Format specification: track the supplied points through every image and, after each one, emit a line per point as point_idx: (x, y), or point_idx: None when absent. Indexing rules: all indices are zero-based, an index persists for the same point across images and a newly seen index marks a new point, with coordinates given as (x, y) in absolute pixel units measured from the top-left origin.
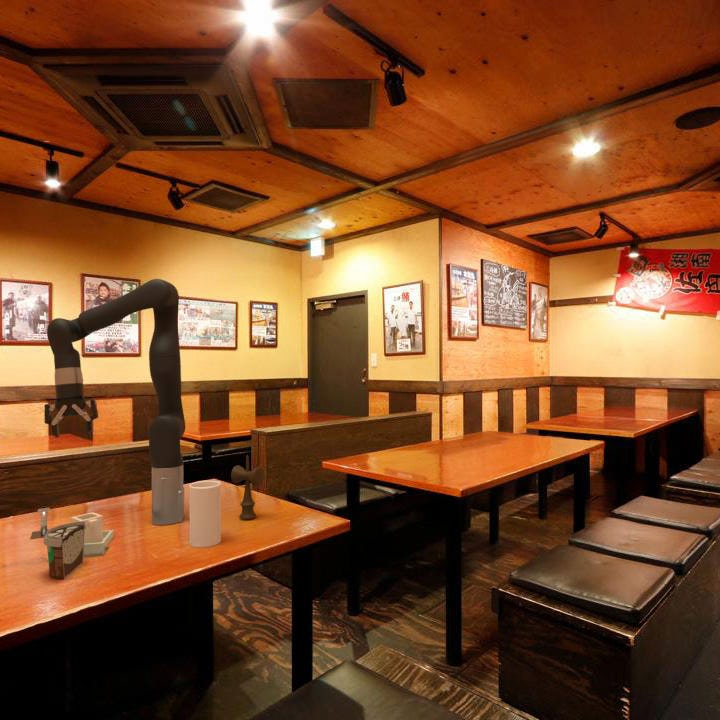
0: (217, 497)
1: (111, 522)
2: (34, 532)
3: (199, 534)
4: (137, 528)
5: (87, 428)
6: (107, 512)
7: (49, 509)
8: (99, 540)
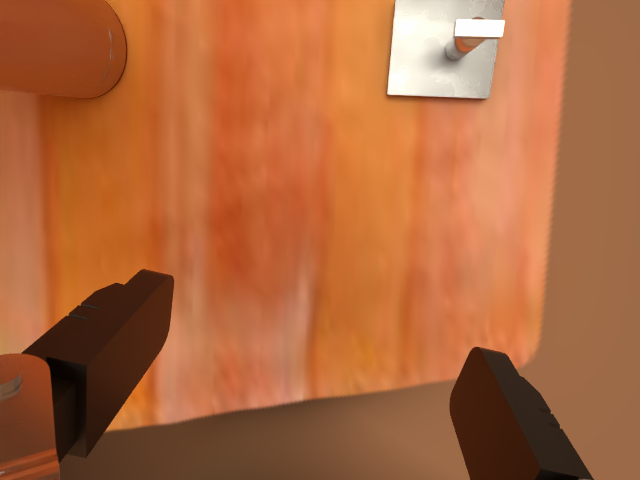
0: None
1: (246, 133)
2: (483, 86)
3: None
4: (172, 8)
5: (128, 301)
6: (253, 261)
7: (456, 20)
8: None
